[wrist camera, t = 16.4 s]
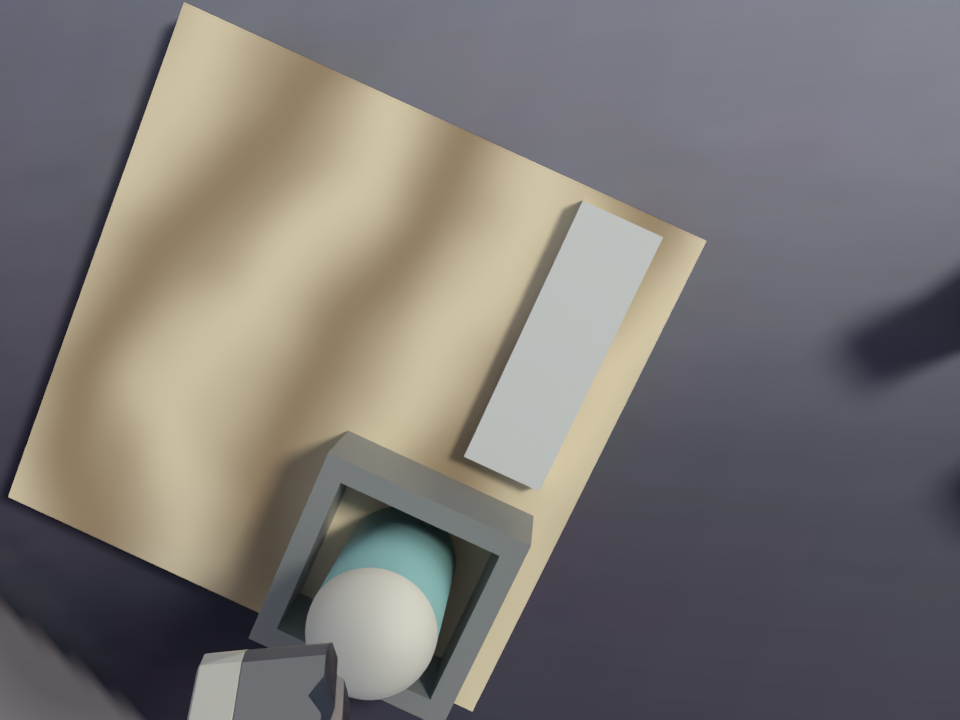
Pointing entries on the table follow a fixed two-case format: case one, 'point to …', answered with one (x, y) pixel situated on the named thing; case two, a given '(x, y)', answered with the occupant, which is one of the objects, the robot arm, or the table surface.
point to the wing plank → (562, 345)
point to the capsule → (384, 602)
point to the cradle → (428, 502)
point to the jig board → (311, 323)
